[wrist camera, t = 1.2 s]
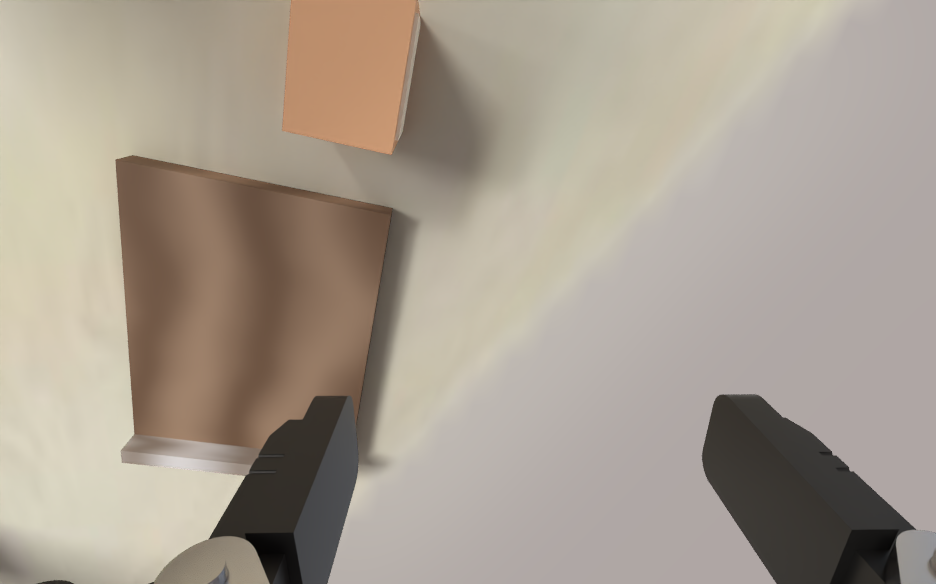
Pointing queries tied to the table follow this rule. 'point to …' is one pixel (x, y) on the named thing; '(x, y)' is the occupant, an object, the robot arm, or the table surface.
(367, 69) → the carton
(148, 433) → the shelf board
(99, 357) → the table surface
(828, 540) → the robot arm
